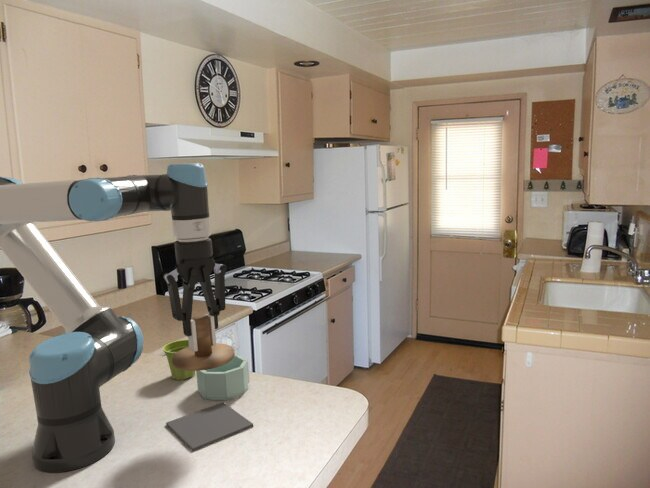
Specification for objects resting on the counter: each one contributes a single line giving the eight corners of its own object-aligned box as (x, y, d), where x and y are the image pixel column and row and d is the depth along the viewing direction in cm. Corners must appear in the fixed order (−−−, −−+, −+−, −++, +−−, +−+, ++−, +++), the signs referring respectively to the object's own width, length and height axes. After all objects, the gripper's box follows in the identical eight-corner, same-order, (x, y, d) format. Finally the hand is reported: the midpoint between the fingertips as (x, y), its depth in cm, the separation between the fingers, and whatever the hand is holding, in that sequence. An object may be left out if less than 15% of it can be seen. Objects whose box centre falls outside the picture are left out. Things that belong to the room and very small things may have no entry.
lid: (188, 376, 100) (183, 332, 99) (163, 358, 110) (158, 318, 109) (245, 358, 108) (242, 317, 107) (217, 343, 118) (214, 305, 117)
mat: (193, 451, 102) (192, 448, 102) (166, 425, 113) (166, 422, 113) (253, 426, 111) (253, 423, 111) (223, 404, 122) (222, 402, 121)
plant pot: (196, 382, 135) (193, 351, 133) (160, 383, 135) (157, 352, 133) (205, 368, 144) (202, 338, 142) (172, 369, 144) (169, 340, 143)
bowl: (213, 405, 121) (211, 377, 120) (192, 389, 130) (189, 363, 129) (257, 389, 128) (255, 363, 127) (233, 375, 138) (231, 351, 137)
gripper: (160, 246, 97) (172, 362, 101) (237, 235, 107) (245, 341, 111) (146, 242, 103) (158, 352, 107) (220, 232, 113) (229, 333, 117)
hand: (202, 346), depth 109 cm, fingers closed on lid, 4 cm apart
